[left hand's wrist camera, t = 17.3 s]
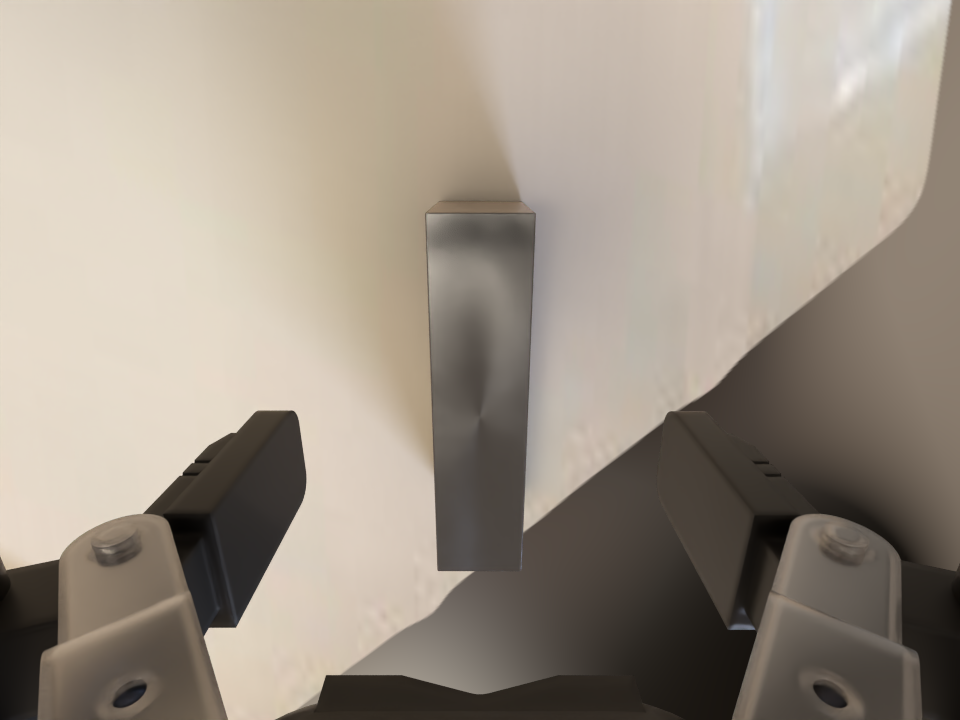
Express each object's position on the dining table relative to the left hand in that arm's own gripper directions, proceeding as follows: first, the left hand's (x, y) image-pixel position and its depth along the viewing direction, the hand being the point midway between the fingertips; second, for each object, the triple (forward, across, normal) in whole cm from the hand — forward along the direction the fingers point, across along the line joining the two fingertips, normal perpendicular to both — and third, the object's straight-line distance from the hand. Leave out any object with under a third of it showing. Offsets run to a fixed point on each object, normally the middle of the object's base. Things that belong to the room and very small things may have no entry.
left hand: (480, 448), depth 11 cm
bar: (+26, 0, +8) cm, 28 cm away
